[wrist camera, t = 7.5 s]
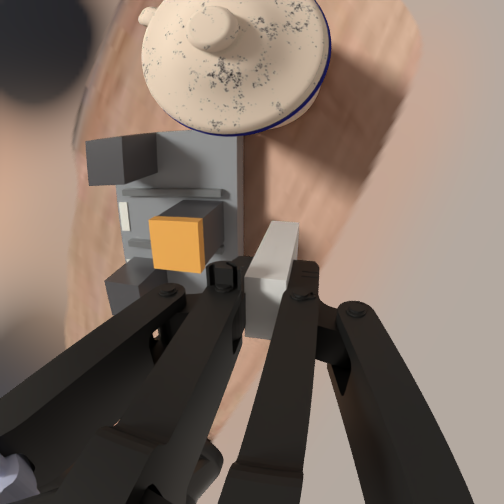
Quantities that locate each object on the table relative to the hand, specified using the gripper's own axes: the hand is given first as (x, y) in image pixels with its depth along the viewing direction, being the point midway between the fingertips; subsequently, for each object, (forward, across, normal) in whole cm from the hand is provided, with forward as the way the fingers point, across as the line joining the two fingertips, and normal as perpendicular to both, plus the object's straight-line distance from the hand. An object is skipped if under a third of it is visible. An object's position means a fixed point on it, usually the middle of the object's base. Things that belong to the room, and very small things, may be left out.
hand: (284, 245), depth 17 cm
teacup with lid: (+7, +4, -11) cm, 14 cm away
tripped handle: (+4, +6, 0) cm, 8 cm away
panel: (+6, +9, 0) cm, 11 cm away
